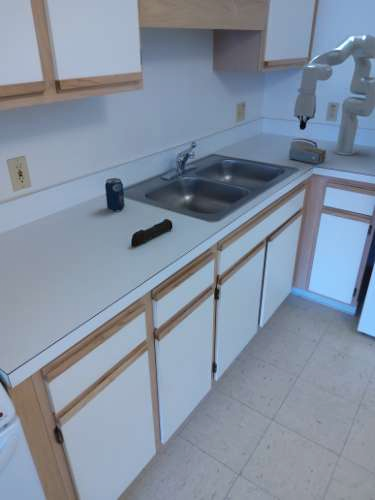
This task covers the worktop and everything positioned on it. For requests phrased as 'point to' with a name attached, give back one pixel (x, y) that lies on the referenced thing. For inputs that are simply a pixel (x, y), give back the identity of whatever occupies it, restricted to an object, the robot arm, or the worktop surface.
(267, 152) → the worktop surface
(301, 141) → the grey arched panel
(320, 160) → the cabinet
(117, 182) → the soda can
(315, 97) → the robot arm
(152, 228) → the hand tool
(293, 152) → the door
